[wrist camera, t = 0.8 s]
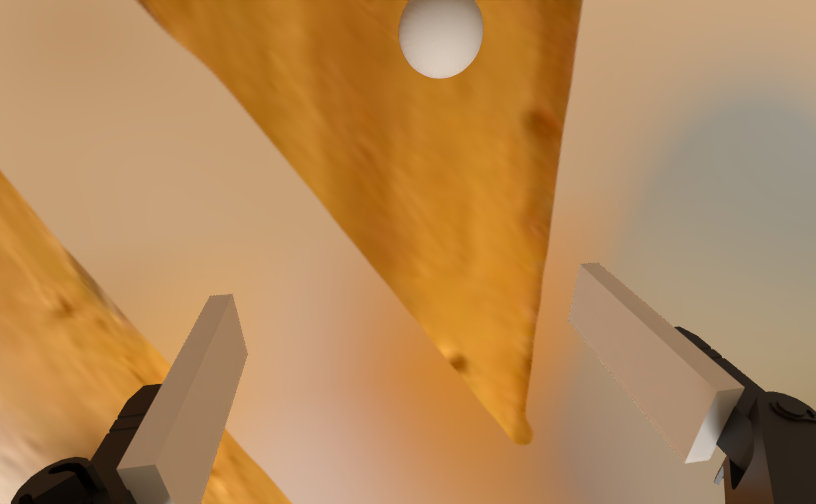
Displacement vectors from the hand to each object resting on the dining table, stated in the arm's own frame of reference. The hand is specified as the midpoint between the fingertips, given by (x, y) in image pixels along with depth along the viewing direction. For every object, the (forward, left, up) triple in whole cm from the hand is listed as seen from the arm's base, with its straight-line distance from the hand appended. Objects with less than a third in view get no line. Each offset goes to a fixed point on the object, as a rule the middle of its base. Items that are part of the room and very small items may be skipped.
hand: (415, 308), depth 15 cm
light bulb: (-9, +6, -26) cm, 28 cm away
